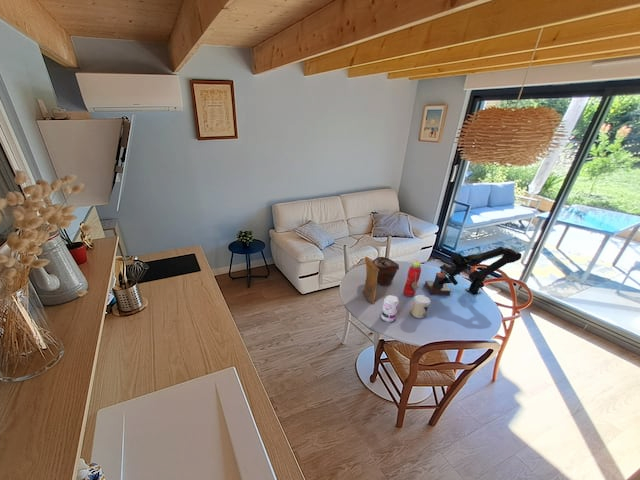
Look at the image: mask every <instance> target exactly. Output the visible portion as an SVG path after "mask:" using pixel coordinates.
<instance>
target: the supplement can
mask: <svg viewBox="0 0 640 480" xmlns="http://www.w3.org/2000/svg"><path fill="white" fill-rule="evenodd" d="M399 304H400V301H399V298H398V297H397V296H396V295H392V294H388V295H386V296H385V298H384V300H383V303H382V309H381V314H380V317H381V319H382V320H383V321H384V322H389V323H391V322H394V321H395V320H396V315H397V312H398V308H399Z"/></svg>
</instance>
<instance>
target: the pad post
mask: <svg viewBox="0 0 640 480" xmlns="http://www.w3.org/2000/svg"><path fill="white" fill-rule="evenodd" d="M445 276H446V277H447V275H445V274H444V273H440V272H436V273H435V276H434V277H435V278H434V280H433V281H434V284H433V285H434V286H435V288H443V285H444V284H440V285H439V284H438V283H439V282H440V281H442V280H443V279H445Z"/></svg>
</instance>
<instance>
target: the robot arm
mask: <svg viewBox="0 0 640 480" xmlns="http://www.w3.org/2000/svg"><path fill="white" fill-rule="evenodd" d="M500 256H501V257H500ZM496 257H500V258H499V259H497V260H495V261H494V262H492V263H491V264H488V266H486V267H484V268H482V269H480V270H477V269H475V270H473V271H472V272H470V274H469V275H468V280H469V282H470V285H469V288H467V289H466V291H467V292H468V293H470V294H472V295H478V294H481V291H480V289H481V288H484V287H485V283H484V281H485V280H486V278H487V277H488V276H489V275H491V274H492V273H494V272H495V271H497V270H499V269H501V268H502V267H504V266H506V265H507V264H513V263H515V262H517V261H520V260H521V259H522V253H521V252H520V251H518V250H517V249H515V248H509V247H505V246H499V247H497V248H494V249H491V250H487V251H485V252H482V253H473V254H467V255H462V253H460V252H459V253H454V254H451V255H450V257H449V260H450V262H452V264H453V265H451V266H450V265H448V264H446V263H443V264H442V265H440V266H439V270H440V272H439V273H444V274H445V275H446V276H445V279H443V280H442V281H440V282H439V283H438V284H439V285H440V284H446V285H447V284H450V285H451V284H453V285H454V286H457V285H458V283H459V282H458V280H457V279H456V278H455V277H456V276H457V275H458V276H460V275H461V273H462V272H465V271H466V270H468V271H471V267H476V266H478V265H480V264H481V263H482V262H484V261H487V260H491V259H493V258H496Z"/></svg>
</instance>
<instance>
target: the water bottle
mask: <svg viewBox="0 0 640 480" xmlns="http://www.w3.org/2000/svg"><path fill="white" fill-rule="evenodd" d="M421 273H422V268H421V263H420V262H417V261H414V262H413V263H412V264H411V265H410V266H409V269H408V272H407V277H406V282H405V284H404V288H403V294H404V295H405V296H406V297H414V296H415V294H416V292H417V290H418V289H419V285H418V283H419V279H420V278H421V277H420V276H421Z"/></svg>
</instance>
